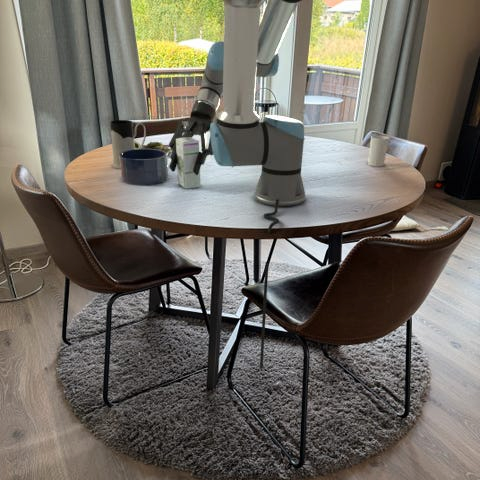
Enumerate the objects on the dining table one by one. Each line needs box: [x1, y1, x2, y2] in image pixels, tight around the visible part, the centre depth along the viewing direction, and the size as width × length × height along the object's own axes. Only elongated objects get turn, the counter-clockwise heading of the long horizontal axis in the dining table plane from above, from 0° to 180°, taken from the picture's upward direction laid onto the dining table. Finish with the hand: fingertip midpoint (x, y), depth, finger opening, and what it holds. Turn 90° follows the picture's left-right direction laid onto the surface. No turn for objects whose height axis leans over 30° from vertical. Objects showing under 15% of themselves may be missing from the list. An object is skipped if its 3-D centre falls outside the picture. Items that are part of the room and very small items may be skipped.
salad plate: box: [134, 140, 172, 156], centre depth 196 cm, size 19×18×5 cm
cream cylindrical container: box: [367, 134, 390, 167], centre depth 187 cm, size 7×7×10 cm
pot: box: [119, 149, 169, 186], centre depth 164 cm, size 15×15×8 cm
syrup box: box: [176, 137, 201, 190], centre depth 156 cm, size 6×6×14 cm
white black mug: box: [109, 119, 147, 170], centre depth 177 cm, size 9×14×15 cm, turn 135°
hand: (183, 170), depth 155 cm, fingers closed on syrup box, 8 cm apart
